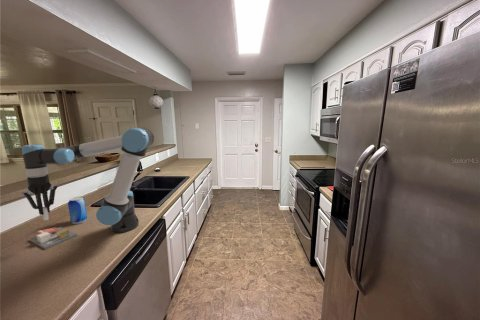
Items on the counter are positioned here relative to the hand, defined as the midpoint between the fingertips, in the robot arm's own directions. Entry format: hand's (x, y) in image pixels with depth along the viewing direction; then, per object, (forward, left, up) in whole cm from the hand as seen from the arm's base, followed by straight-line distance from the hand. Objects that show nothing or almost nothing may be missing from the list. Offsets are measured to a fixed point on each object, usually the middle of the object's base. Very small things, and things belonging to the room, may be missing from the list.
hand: (45, 219), depth 103 cm
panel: (+5, -3, -14) cm, 16 cm away
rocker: (+10, -3, -11) cm, 16 cm away
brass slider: (0, -6, -13) cm, 14 cm away
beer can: (+14, -20, -15) cm, 29 cm away
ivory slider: (+5, +1, -13) cm, 14 cm away
